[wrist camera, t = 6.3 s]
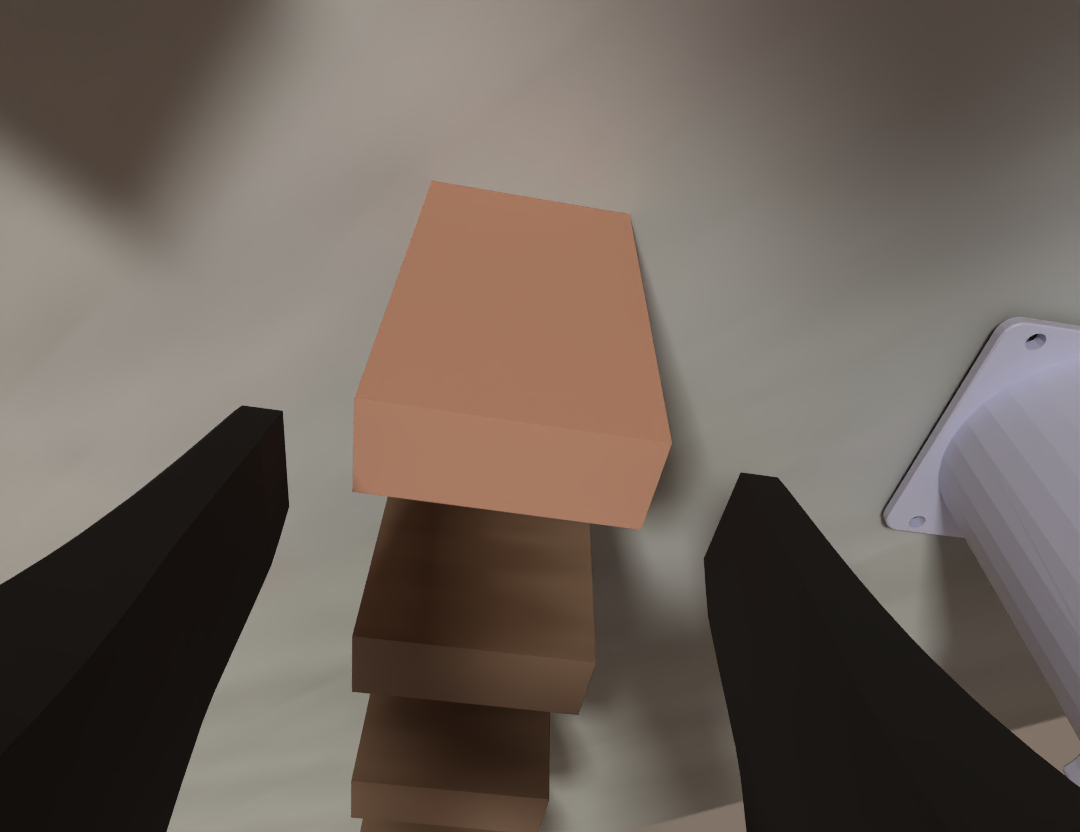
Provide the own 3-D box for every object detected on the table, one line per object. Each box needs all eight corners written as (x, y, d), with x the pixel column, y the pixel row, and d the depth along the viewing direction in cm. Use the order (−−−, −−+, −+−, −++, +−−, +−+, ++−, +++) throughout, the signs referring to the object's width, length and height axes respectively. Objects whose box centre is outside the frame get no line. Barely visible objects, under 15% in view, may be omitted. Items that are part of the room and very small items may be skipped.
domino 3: (551, 537, 26) (549, 799, 19) (542, 575, 28) (537, 834, 21) (408, 520, 26) (351, 780, 19) (405, 559, 27) (351, 817, 20)
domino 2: (584, 402, 23) (596, 662, 16) (572, 452, 24) (578, 714, 17) (417, 379, 22) (352, 636, 15) (414, 431, 24) (351, 691, 16)
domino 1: (629, 214, 19) (671, 443, 12) (611, 284, 20) (640, 529, 13) (431, 180, 19) (355, 398, 12) (426, 254, 20) (352, 491, 13)
